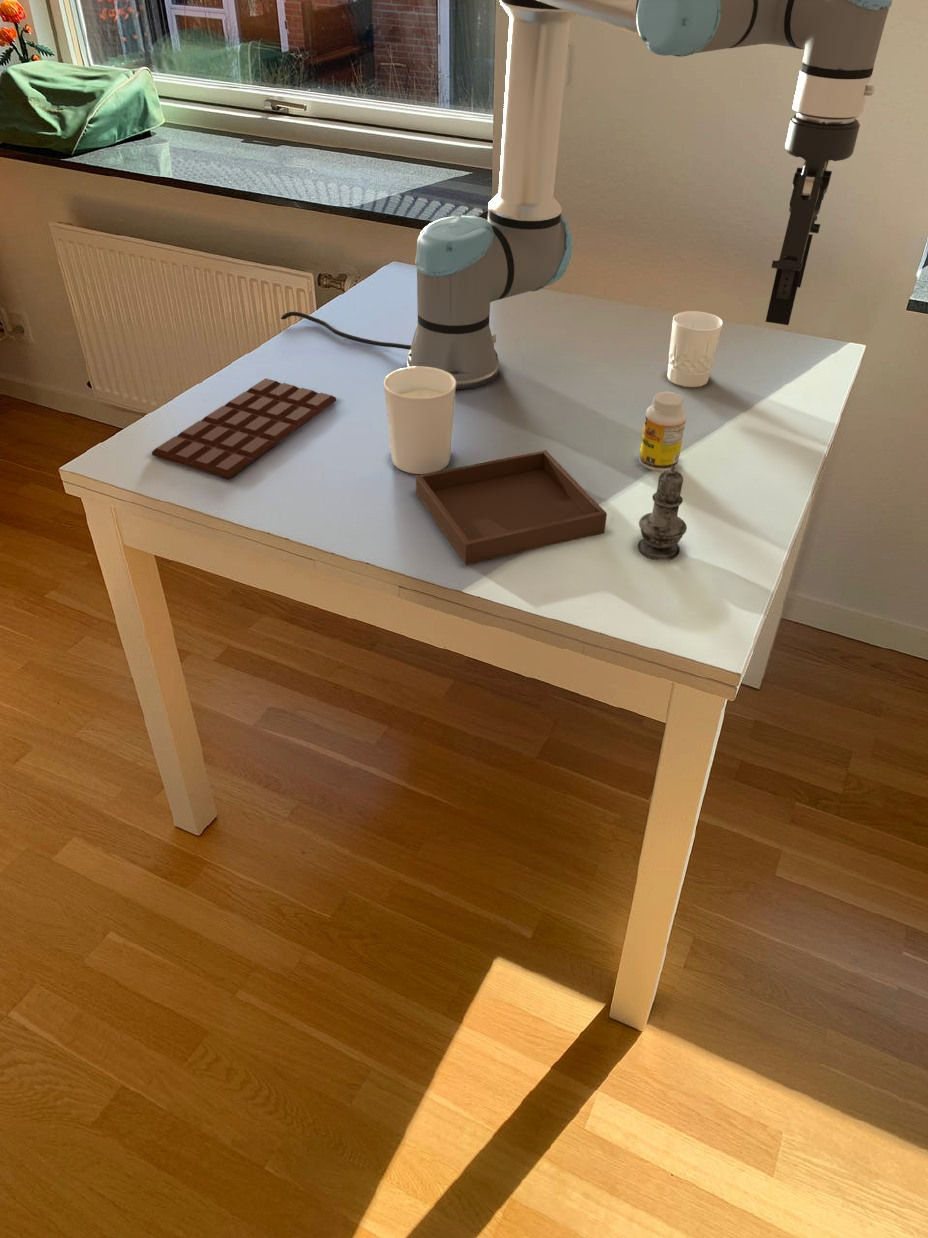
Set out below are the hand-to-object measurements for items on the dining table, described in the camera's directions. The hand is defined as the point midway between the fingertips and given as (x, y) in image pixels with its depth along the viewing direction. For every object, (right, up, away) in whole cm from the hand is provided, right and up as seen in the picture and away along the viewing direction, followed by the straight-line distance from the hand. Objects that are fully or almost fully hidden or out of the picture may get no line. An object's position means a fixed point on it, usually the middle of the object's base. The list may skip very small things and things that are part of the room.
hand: (783, 303), depth 121 cm
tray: (-34, -26, +6) cm, 43 cm away
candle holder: (-46, -17, +17) cm, 52 cm away
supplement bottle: (-12, -18, +17) cm, 27 cm away
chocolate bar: (-72, -11, +23) cm, 77 cm away
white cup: (-3, 0, +39) cm, 39 cm away
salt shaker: (-16, -31, +1) cm, 35 cm away
